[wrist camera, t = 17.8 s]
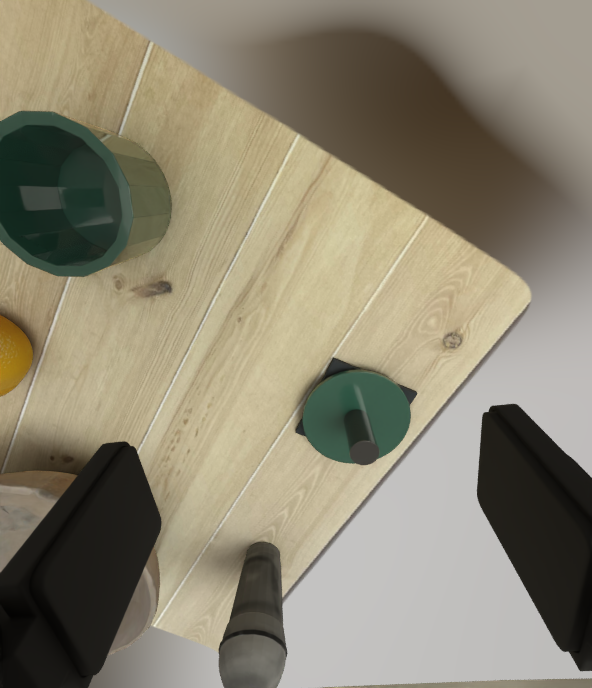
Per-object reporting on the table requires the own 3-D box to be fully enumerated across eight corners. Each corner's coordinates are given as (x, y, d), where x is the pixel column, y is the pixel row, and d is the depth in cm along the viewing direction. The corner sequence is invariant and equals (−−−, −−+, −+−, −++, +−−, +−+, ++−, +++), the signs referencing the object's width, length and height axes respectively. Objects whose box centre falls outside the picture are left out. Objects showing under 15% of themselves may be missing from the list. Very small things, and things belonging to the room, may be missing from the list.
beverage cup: (278, 578, 52) (266, 794, 33) (229, 564, 51) (187, 777, 32) (298, 544, 49) (296, 755, 31) (246, 528, 48) (212, 736, 30)
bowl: (-32, 553, 51) (-107, 633, 41) (-15, 396, 41) (-107, 454, 32) (155, 604, 54) (124, 689, 45) (209, 469, 45) (185, 541, 35)
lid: (427, 390, 40) (451, 427, 34) (376, 469, 44) (388, 515, 38) (330, 350, 38) (335, 380, 32) (286, 436, 42) (283, 477, 36)
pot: (186, 165, 32) (149, 155, 24) (154, 276, 36) (112, 298, 28) (64, 109, 31) (-17, 79, 23) (43, 230, 35) (-33, 240, 27)
